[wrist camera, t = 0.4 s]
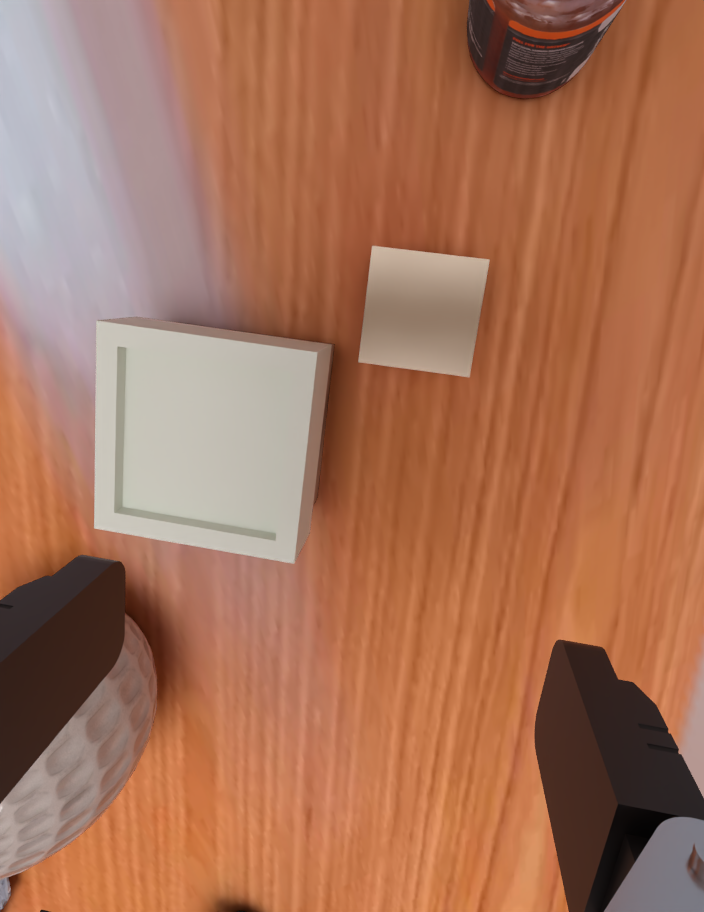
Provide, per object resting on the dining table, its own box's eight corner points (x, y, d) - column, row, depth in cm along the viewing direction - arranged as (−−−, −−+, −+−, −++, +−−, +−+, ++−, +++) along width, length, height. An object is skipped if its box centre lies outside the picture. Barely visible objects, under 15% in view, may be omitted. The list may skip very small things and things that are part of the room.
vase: (153, 535, 38) (-50, 715, 22) (218, 710, 41) (80, 980, 25) (-20, 574, 41) (-315, 761, 25) (53, 736, 43) (-170, 998, 27)
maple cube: (383, 253, 32) (372, 245, 26) (479, 264, 32) (489, 259, 26) (371, 349, 33) (357, 362, 28) (463, 361, 33) (469, 377, 27)
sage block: (136, 316, 31) (96, 320, 27) (331, 344, 30) (317, 352, 26) (131, 502, 34) (94, 528, 30) (309, 533, 33) (294, 563, 29)
